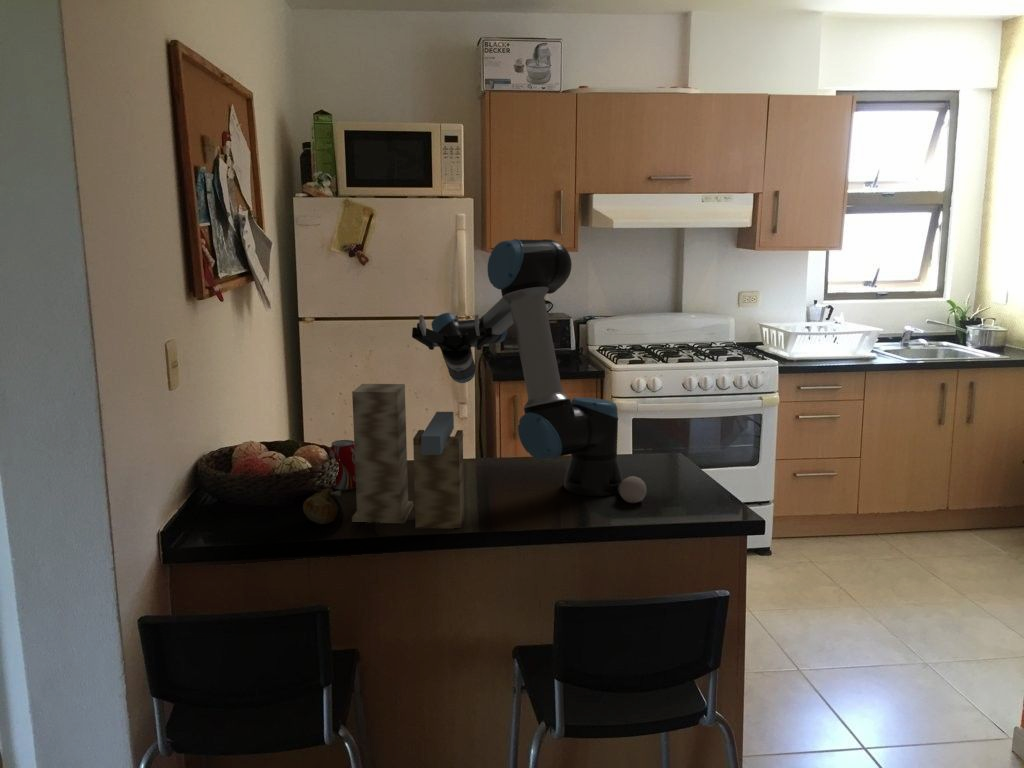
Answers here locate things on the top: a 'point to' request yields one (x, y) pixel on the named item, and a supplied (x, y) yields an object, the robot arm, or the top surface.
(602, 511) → the top surface
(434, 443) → the rod
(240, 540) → the top surface
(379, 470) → the stand
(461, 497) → the rest block
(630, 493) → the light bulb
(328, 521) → the onion
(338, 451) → the soda can
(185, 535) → the top surface
